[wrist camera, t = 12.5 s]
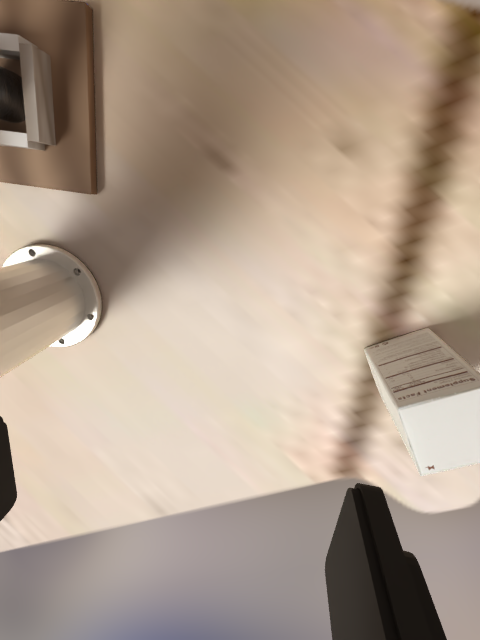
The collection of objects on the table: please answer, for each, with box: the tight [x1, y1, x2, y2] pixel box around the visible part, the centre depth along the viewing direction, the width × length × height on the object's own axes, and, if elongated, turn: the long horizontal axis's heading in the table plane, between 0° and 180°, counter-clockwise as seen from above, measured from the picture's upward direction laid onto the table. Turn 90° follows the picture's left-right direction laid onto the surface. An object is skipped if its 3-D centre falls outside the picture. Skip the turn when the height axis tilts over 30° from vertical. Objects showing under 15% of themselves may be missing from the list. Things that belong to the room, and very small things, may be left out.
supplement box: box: [364, 328, 480, 476], centre depth 33 cm, size 7×7×13 cm
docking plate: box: [0, 0, 97, 194], centre depth 33 cm, size 16×16×4 cm
